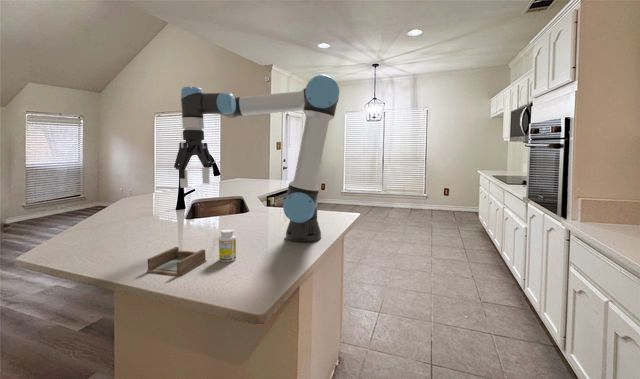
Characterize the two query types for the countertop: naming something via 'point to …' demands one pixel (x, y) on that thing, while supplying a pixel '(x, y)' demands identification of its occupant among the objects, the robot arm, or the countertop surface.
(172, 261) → the u rest
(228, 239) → the supplement bottle
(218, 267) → the countertop surface
